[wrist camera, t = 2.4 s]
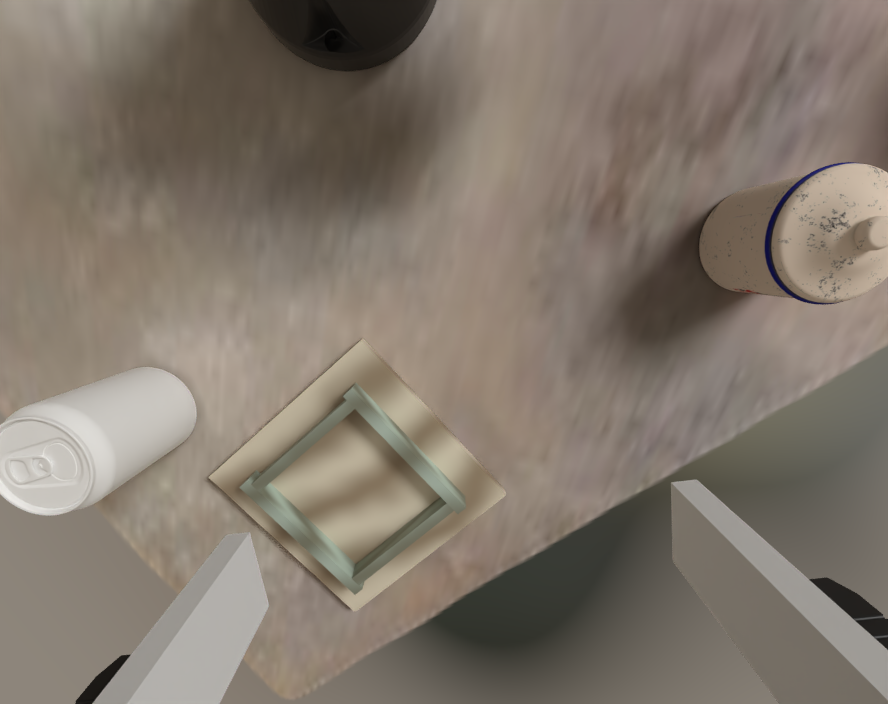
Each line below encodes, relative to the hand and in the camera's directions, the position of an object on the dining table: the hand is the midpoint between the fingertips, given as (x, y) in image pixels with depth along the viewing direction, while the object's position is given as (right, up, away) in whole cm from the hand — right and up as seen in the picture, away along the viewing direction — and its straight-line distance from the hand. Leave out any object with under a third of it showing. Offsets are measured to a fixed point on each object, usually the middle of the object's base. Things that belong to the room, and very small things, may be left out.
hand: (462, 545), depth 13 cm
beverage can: (-27, +1, +27) cm, 38 cm away
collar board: (-9, -7, +28) cm, 30 cm away
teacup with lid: (+27, +16, +23) cm, 39 cm away
